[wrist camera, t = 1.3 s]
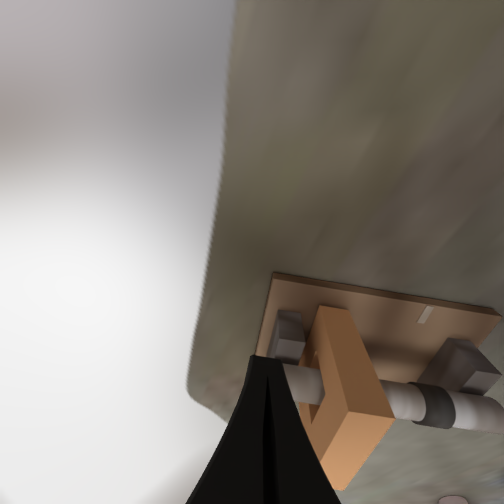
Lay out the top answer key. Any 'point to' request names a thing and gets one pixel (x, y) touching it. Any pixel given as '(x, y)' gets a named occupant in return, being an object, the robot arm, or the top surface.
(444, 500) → the smoothie
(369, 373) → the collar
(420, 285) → the top surface
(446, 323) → the pipe rig
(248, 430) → the robot arm
